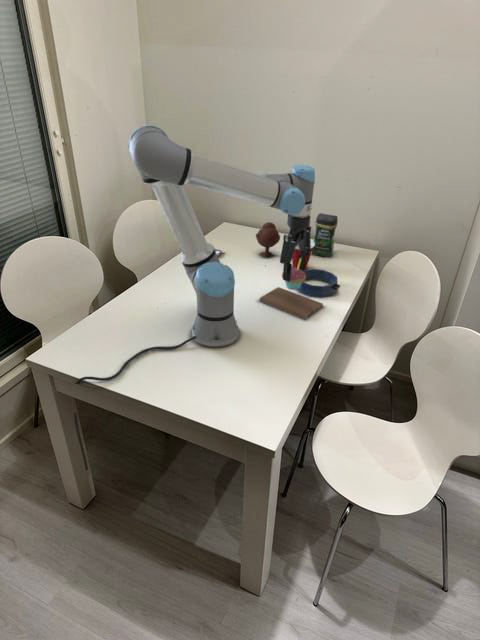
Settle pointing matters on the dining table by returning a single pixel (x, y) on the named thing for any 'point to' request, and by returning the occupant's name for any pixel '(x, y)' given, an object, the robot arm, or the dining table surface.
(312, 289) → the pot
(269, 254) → the ice cream bowl
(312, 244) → the plastic cup
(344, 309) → the dining table surface
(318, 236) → the coffee jar
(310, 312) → the cutting board
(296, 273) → the cupcake
